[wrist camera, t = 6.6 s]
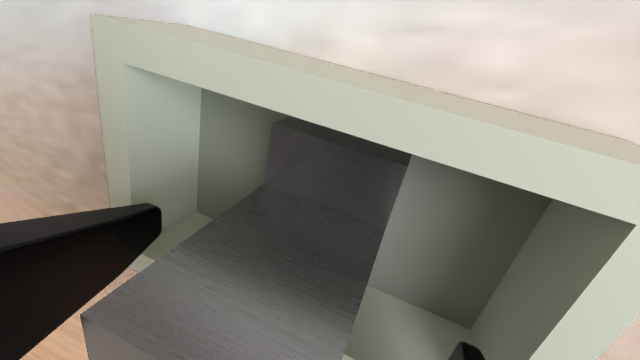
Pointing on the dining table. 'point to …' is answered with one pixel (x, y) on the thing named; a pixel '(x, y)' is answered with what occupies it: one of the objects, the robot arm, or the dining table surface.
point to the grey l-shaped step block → (264, 261)
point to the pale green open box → (413, 198)
